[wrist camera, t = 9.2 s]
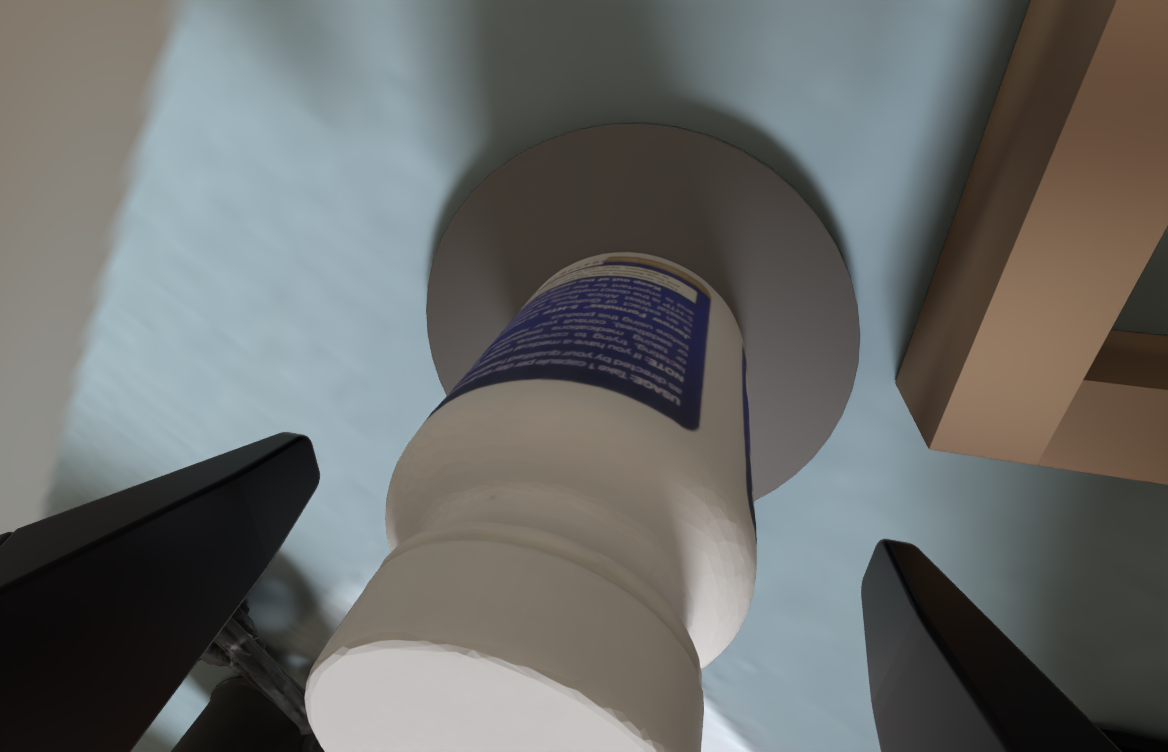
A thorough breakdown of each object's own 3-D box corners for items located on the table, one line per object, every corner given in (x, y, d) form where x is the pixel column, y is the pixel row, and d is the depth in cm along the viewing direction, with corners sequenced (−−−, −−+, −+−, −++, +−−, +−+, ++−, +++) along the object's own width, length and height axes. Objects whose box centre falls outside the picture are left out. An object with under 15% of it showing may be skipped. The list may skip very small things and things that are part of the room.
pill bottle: (479, 333, 13) (153, 672, 6) (649, 195, 11) (464, 471, 3) (615, 483, 15) (490, 921, 7) (795, 389, 12) (896, 906, 5)
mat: (798, 537, 15) (801, 553, 14) (455, 474, 17) (446, 486, 16) (920, 137, 10) (929, 140, 9) (414, 111, 12) (400, 113, 11)
